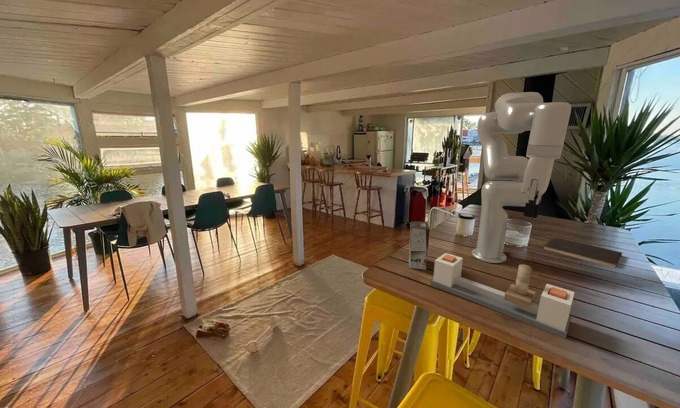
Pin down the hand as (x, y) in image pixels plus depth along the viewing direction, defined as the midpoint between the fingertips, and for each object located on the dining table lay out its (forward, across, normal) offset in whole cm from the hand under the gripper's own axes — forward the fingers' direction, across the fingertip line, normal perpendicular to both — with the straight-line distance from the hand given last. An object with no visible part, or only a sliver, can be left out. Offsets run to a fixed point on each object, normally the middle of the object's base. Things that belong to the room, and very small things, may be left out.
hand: (530, 216), depth 79 cm
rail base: (+26, +8, -4) cm, 28 cm away
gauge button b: (+20, +8, +10) cm, 24 cm away
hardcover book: (+29, -55, +13) cm, 64 cm away
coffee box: (+28, +1, -33) cm, 43 cm away
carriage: (+22, +8, +2) cm, 24 cm away
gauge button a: (+21, +7, -19) cm, 29 cm away
